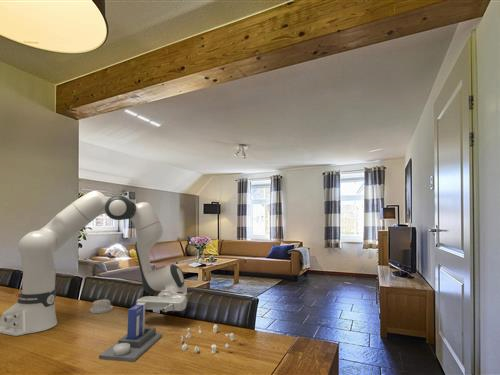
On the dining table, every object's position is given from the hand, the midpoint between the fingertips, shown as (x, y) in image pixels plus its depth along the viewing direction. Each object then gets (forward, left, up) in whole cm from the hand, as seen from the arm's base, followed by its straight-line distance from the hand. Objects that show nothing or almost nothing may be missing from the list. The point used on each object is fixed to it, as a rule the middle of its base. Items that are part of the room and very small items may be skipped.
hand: (152, 309), depth 120 cm
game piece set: (+24, -6, -9) cm, 26 cm away
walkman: (-1, -11, -8) cm, 13 cm away
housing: (0, -14, -8) cm, 16 cm away
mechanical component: (-36, +20, -9) cm, 42 cm away
